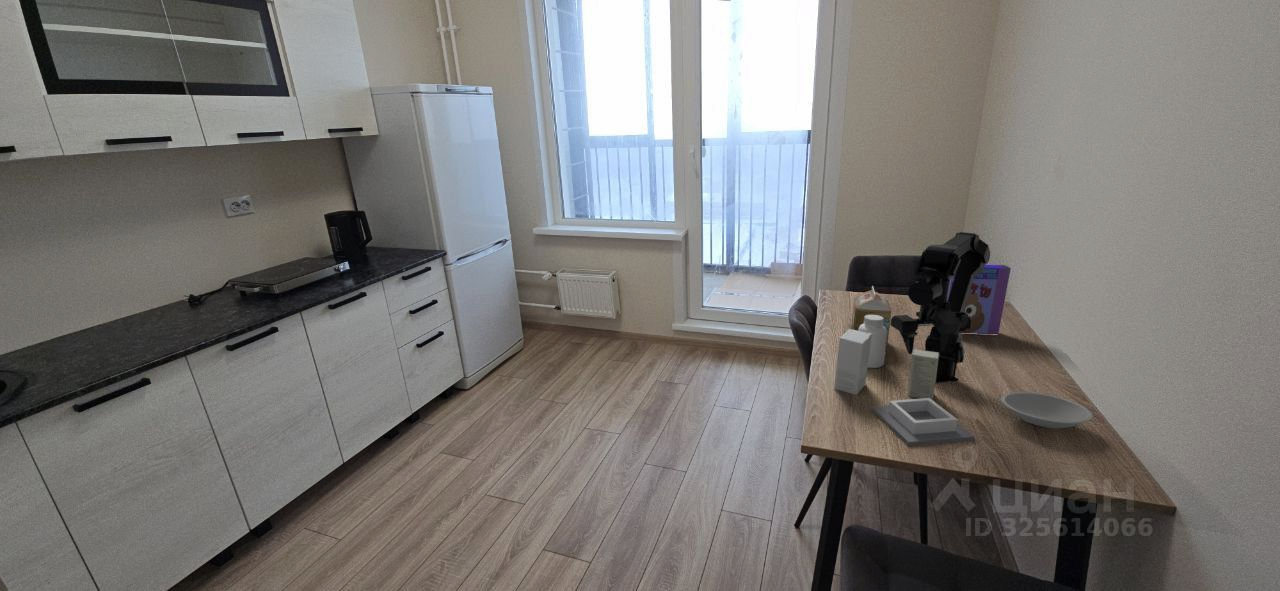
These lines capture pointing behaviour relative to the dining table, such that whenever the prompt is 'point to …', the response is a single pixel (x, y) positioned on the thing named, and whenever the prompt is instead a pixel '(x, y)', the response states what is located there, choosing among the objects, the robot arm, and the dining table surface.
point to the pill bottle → (875, 339)
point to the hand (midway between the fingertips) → (926, 352)
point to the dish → (1046, 409)
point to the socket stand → (921, 422)
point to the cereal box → (986, 299)
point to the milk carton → (871, 309)
